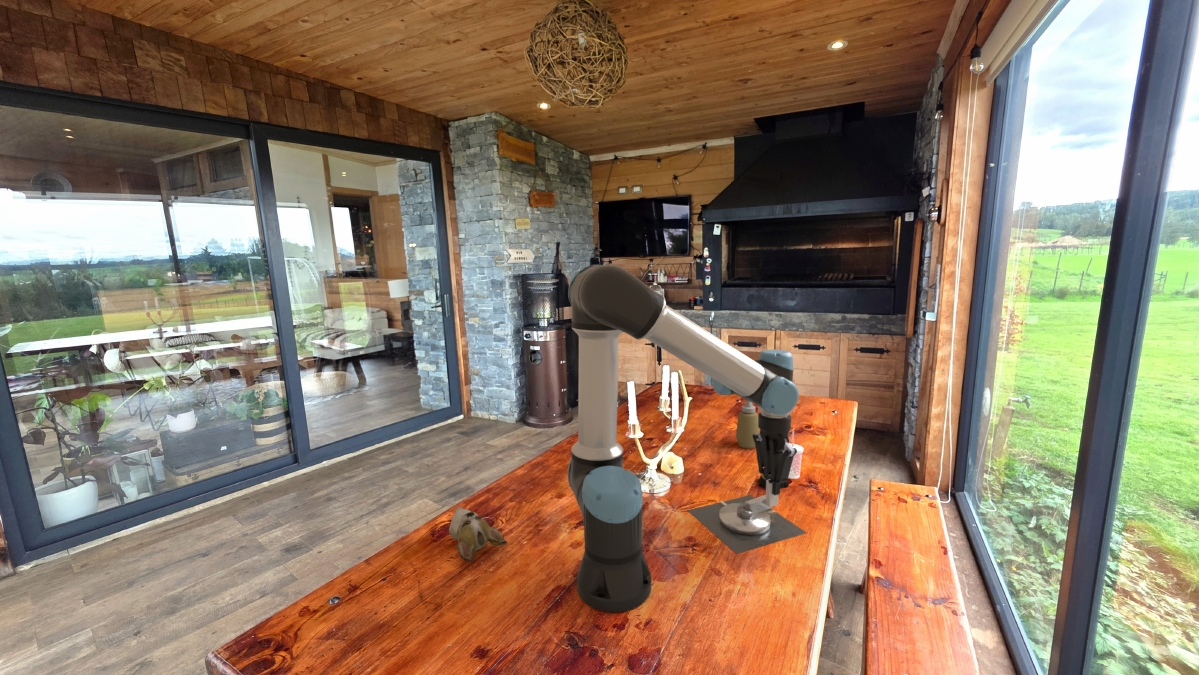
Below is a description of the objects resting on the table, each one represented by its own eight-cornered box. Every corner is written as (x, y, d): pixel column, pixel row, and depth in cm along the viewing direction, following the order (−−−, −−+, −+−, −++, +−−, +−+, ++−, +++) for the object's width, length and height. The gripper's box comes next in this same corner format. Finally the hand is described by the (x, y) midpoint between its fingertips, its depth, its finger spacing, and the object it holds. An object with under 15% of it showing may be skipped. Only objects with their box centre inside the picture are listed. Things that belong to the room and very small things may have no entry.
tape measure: (789, 492, 134) (790, 479, 133) (769, 496, 132) (769, 483, 131) (774, 481, 140) (774, 470, 140) (754, 485, 138) (754, 473, 138)
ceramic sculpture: (477, 493, 119) (509, 519, 108) (478, 523, 121) (510, 552, 110) (436, 508, 112) (465, 538, 101) (438, 541, 114) (467, 574, 103)
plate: (736, 560, 104) (736, 551, 104) (687, 515, 123) (687, 508, 122) (806, 538, 111) (807, 530, 111) (750, 499, 130) (750, 492, 129)
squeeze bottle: (762, 444, 168) (763, 395, 165) (756, 452, 161) (757, 401, 158) (739, 440, 172) (740, 392, 170) (732, 447, 166) (733, 397, 163)
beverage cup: (796, 481, 140) (798, 436, 137) (776, 475, 144) (778, 431, 142) (806, 475, 143) (808, 431, 141) (786, 469, 148) (788, 426, 146)
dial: (744, 540, 109) (744, 522, 108) (709, 516, 119) (709, 499, 118) (791, 522, 116) (791, 504, 115) (754, 500, 126) (754, 485, 126)
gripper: (807, 418, 110) (803, 513, 114) (768, 404, 122) (765, 491, 126) (781, 423, 108) (778, 520, 111) (744, 408, 120) (742, 496, 123)
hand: (771, 504), depth 118 cm, fingers closed
